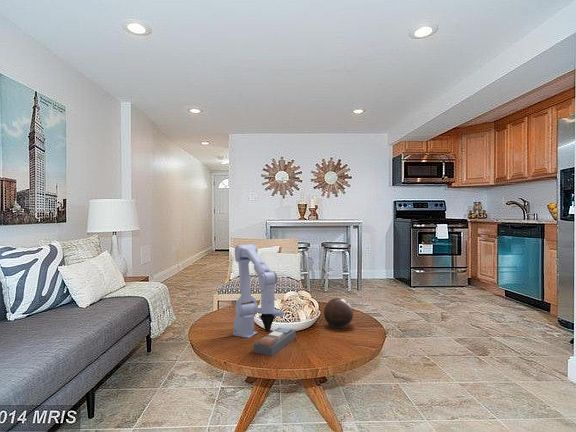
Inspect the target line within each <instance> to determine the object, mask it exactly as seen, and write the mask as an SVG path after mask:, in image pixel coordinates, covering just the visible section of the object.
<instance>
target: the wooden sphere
mask: <svg viewBox="0 0 576 432" xmlns="http://www.w3.org/2000/svg"><path fill="white" fill-rule="evenodd" d="M323 316H324V319H325V321H326V322H327V324H328V325H329V326H331V327H333V328H335V329H344V328H345V327H346V328H347V326H348V325H350V324H351V322H352V321H353V317H354V311H353V307H352V305H351V304H350V302H349V301H347V300H346V299H344V298H340V297H335V298H332V299H331V300H329V301H328V302H326V305H325V306H324V309H323Z"/></svg>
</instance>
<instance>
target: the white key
mask: <svg viewBox="0 0 576 432" xmlns="http://www.w3.org/2000/svg"><path fill="white" fill-rule="evenodd" d="M267 335H268V337H270V338H275V339H276V340H280V339H281V338H282V337H283V333H282V332H277V331H275V330H273V331H272V332H270V333H268V334H267Z"/></svg>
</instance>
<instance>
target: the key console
mask: <svg viewBox="0 0 576 432" xmlns="http://www.w3.org/2000/svg"><path fill="white" fill-rule="evenodd" d="M281 328H282V327H279V328H276V329H275V330H274V331H278V330H279V329H281ZM265 337H268V334H267V335H266V336H265ZM296 338H297V331H296V329H291V332H289V333H288V334H283V337H282V338H281V339H280V340H276V339H275V343H274V344H273V345H271V346H265V345H260V344H259V340H258V341H257V342H255V343H253V354H254V353H255V354H260V355H264V356H269V357H272V356H274V355H276V354H277V353H278V352H279V351H280V350H282V349H283V348H285V347H286V346H288V344H290V343H291V342H292V341H294V340H295V339H296Z"/></svg>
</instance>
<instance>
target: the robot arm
mask: <svg viewBox="0 0 576 432" xmlns="http://www.w3.org/2000/svg"><path fill="white" fill-rule="evenodd" d="M234 259H235V262H236V263H238V275H239V287H240V288H239V289H240V296H239V297H238V298H237V299H236V301H235V307H234V310H235V314H236V315H235V317H234V319H233V333H232V336H237V337H240V338H241V337H242V338H247V339H248V338H249V339H250V338H252V337H253V336H255V335H256V334H258V331H255V317H256V315H257V314H261V315H260V316H259V317H260V320H261V322H262V324H263V327H264V331H265V332H266V333H269V332H271V328H272V325H273V322H274V319H275V318H276V317H279V318H283V317H284V316H285V311H283V310H279V309H276V308H275V285H276V284H277V283H278V282H277V281H278V275H277V273H276V272H275V270H272V269H270V268H269V266H268V264H267V263H266V262H265V260H264V261H263V260H261V258H260V256H259V254H258V245H256V243H249V244H236V246H235V248H234ZM250 262H251V263H252V264H253V270H254V271H255V273H256V275H257V277H258V283H259V289H260V290H261V291H260V295H261V296H260V297H261V298H260V300H261V301H260V302H261V303H260V306H261V307H258V306H259V305H258V303H257V299H256V298H255V297H254V296H252V293H251V281H250V280H251V279H250V266H249V263H250Z"/></svg>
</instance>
